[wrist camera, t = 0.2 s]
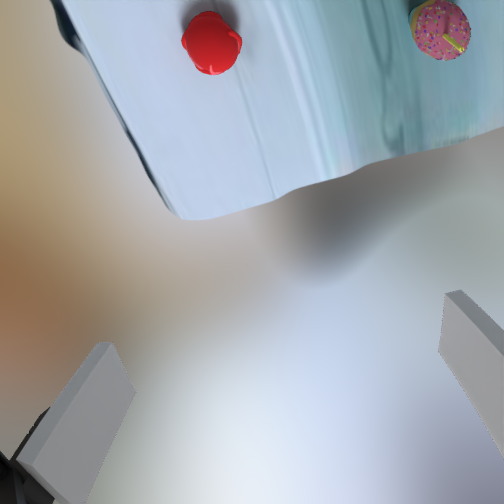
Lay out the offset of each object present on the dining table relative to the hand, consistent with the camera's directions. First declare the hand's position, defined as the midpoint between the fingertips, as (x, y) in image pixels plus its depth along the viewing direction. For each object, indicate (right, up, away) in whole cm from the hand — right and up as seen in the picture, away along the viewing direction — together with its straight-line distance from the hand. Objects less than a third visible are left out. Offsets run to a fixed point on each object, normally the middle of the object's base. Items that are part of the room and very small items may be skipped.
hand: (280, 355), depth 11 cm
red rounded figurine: (-6, +29, +20) cm, 36 cm away
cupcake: (+21, +34, +17) cm, 43 cm away
